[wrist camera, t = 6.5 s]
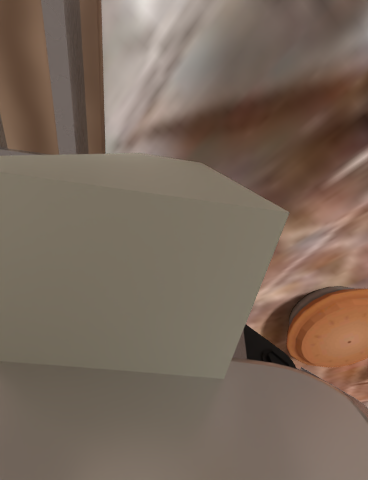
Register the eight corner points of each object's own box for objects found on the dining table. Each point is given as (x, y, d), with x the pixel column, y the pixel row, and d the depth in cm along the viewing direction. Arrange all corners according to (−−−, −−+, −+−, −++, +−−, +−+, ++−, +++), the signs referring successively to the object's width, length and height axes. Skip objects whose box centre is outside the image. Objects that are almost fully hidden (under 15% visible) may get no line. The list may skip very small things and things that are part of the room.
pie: (304, 264, 26) (330, 287, 22) (396, 284, 28) (438, 309, 23) (260, 339, 32) (273, 369, 28) (338, 352, 34) (363, 382, 29)
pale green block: (201, 162, 12) (289, 212, 2) (178, 302, 17) (170, 513, 7) (132, 152, 12) (-148, 151, 2) (129, 297, 17) (51, 509, 7)
